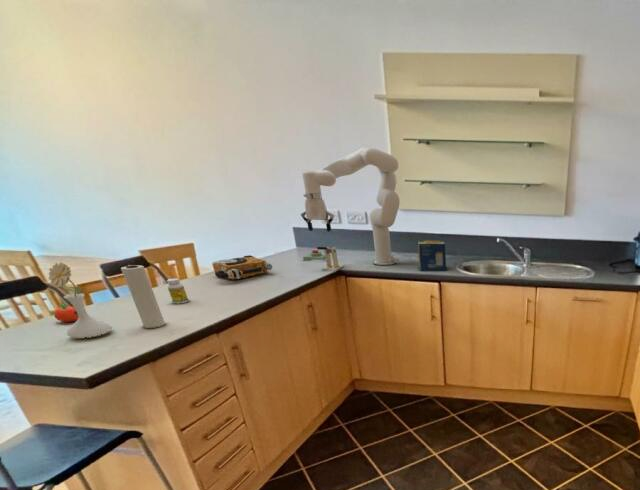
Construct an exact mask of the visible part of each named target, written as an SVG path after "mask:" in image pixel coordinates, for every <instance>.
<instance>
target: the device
mask: <svg viewBox="0 0 640 490" xmlns="http://www.w3.org/2000/svg"><path fill="white" fill-rule="evenodd" d="M211 265H212V268H213V272H214V275H215V276H216V277H217V278H220V279H228V280H229V279H230V280H240V279H243V278H249V277H252V276H253V277H254V276H255V275H259V274H264V273H267V271H271V270H272V269H273V265H272V263H270V262H267V261H266V260H264V259H261V258H258V257H256V256H253V255H250V254H249V255H244V256H241V257H234V258H233V257H232V258H226V259H220V260H217V261H213V262H211Z"/></svg>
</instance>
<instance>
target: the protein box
mask: <svg viewBox="0 0 640 490" xmlns="http://www.w3.org/2000/svg"><path fill="white" fill-rule="evenodd" d="M417 250H418V251H417V252H418V264H419V270H420V271H421V272H428V271H430V272H432V271H433V272H435V271H447V259H446V258H447V257H446V256H447V255H446V254H447V253H446V243H445V242H444V240H417Z"/></svg>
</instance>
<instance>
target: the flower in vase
mask: <svg viewBox="0 0 640 490" xmlns="http://www.w3.org/2000/svg"><path fill="white" fill-rule="evenodd" d="M48 270H49V272H48V275H49V276H48V280H49V281H50V284H51V285H52V286H53V287H54V286H56V288H62V289H64V290H66V291H69V292H72V294H67V295H64V296H63V298H64V299H65V300H67V301H68V302H69V303H70V304H71V305H72V307H74V308H75V309H76V311H77V314H78V320H76V321H74V323H72V325H71V326H70V327H69V329H68V330H67V332H66V335H67V336H68V337H70V338H73V339H88V338H95V337H99V336H103V335H106V334H107V333H109V332H111V331H112V330H113V326H112V325H111V324H110V323H108V322H106V321H103V320H100V319H97V318H94V317H93V316H90V315H89V313H88V312H87V310H86V307H85V305H84V297H85V293H84V291H83V290H82V288H81V287H80V286H79V285H78V286H76V285H75V283H74V282H73V281H72V280H71V277H72V273H71V267H70V266H69V265H68V264H66V263H64V262H62V261H60V262H59V263H57V262H55V263H54V264H53V265H52V267H50V268H48ZM69 282H70V283H71V284H72V286H73V287H74V288H73V287H70V286H68V285H66V284H68V283H69ZM101 334H102V335H101ZM97 335H98V336H97ZM92 336H93V337H92ZM85 337H87V338H85Z"/></svg>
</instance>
